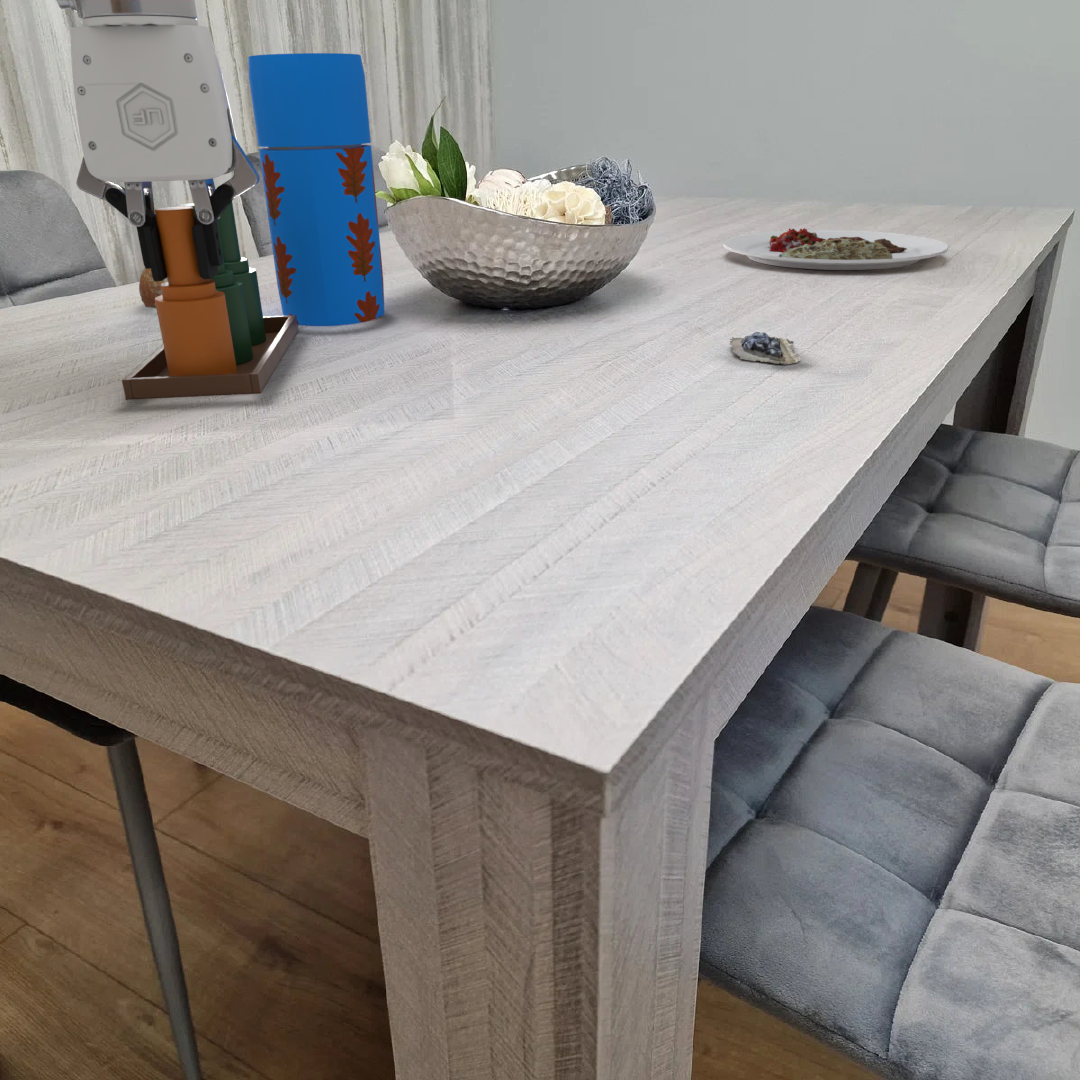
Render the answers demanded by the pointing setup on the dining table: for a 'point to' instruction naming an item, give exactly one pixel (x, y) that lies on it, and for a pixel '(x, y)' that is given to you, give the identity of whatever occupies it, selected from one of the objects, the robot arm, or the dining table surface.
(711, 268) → the dining table surface
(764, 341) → the blueberry tart
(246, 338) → the green bottle
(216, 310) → the amber bottle
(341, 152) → the thermos
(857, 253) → the plated food
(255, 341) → the green bottle
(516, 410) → the dining table surface
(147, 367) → the tray
